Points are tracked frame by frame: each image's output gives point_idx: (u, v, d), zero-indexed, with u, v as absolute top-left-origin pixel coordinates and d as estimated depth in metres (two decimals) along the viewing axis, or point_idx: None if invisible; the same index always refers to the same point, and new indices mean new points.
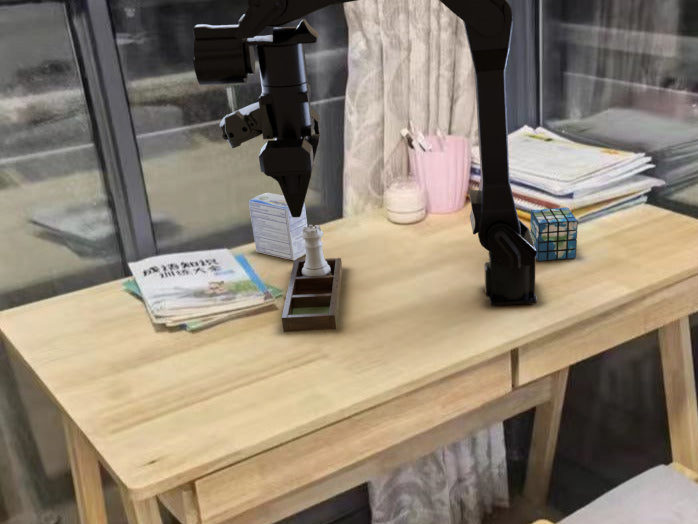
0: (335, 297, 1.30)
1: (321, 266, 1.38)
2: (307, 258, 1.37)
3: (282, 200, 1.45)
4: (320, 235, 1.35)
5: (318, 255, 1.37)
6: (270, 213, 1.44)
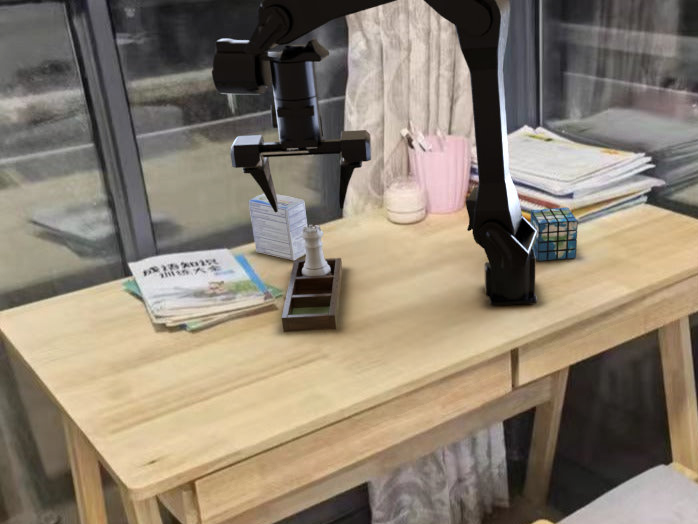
0: (335, 297, 1.30)
1: (321, 266, 1.38)
2: (307, 258, 1.37)
3: (282, 200, 1.45)
4: (320, 235, 1.35)
5: (318, 255, 1.37)
6: (270, 213, 1.44)
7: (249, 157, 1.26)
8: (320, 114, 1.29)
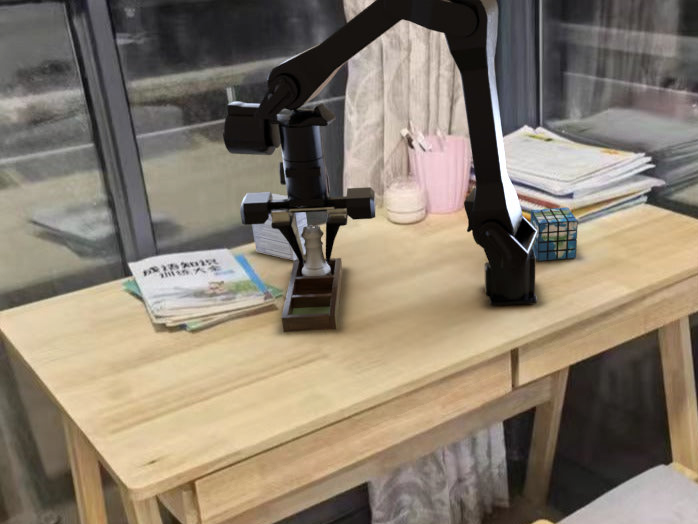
0: (335, 297, 1.30)
1: (321, 266, 1.38)
2: (307, 258, 1.37)
3: None
4: (320, 235, 1.35)
5: (318, 255, 1.37)
6: None
7: (258, 215, 1.31)
8: (326, 172, 1.34)
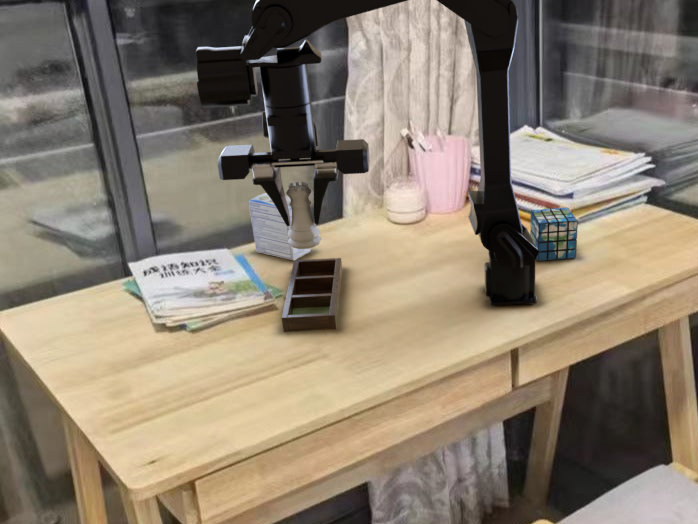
0: (335, 297, 1.30)
1: (309, 228, 1.24)
2: (293, 219, 1.24)
3: None
4: (307, 193, 1.22)
5: (305, 215, 1.23)
6: (270, 213, 1.44)
7: (238, 169, 1.17)
8: (314, 122, 1.20)
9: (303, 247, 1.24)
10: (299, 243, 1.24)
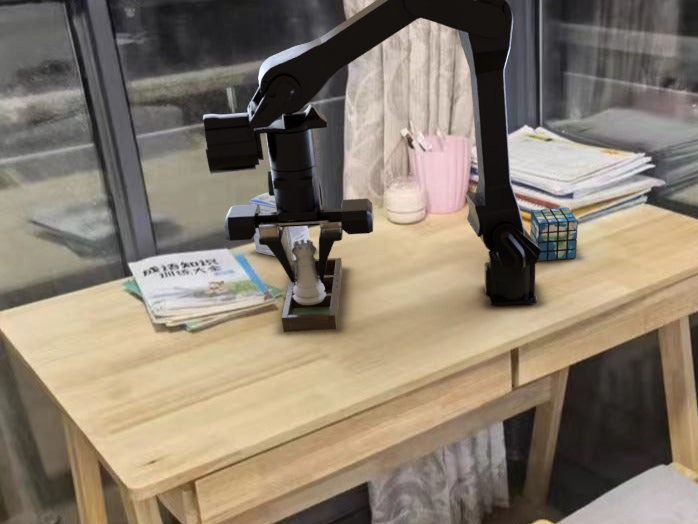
0: (335, 297, 1.30)
1: (314, 285, 1.26)
2: (298, 276, 1.25)
3: None
4: (313, 251, 1.24)
5: (310, 273, 1.25)
6: None
7: (244, 230, 1.19)
8: (319, 182, 1.22)
9: (308, 303, 1.26)
10: (304, 299, 1.26)
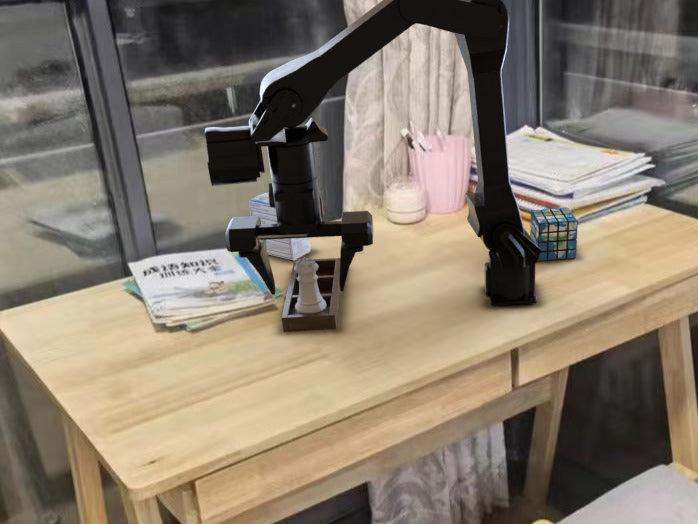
0: (335, 297, 1.30)
1: (316, 302, 1.27)
2: (300, 293, 1.27)
3: None
4: (315, 269, 1.25)
5: (312, 290, 1.26)
6: (270, 213, 1.44)
7: (245, 241, 1.20)
8: (320, 194, 1.23)
9: None
10: None
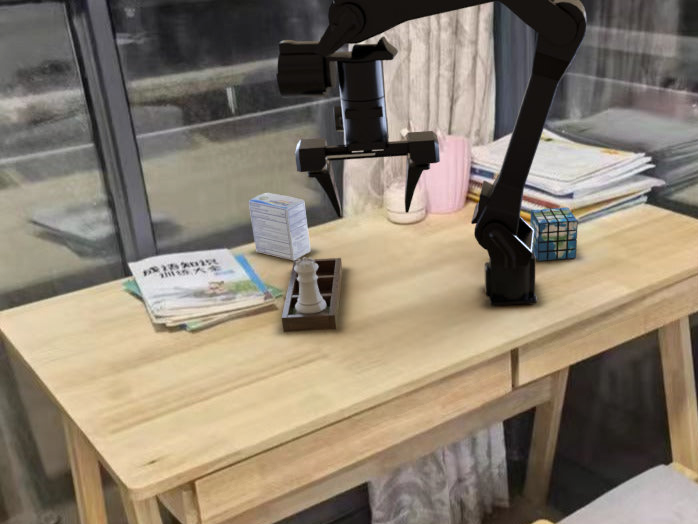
0: (335, 297, 1.30)
1: (316, 302, 1.27)
2: (300, 293, 1.27)
3: (282, 200, 1.45)
4: (315, 269, 1.25)
5: (312, 290, 1.26)
6: (270, 213, 1.44)
7: (315, 161, 1.22)
8: None
9: None
10: None
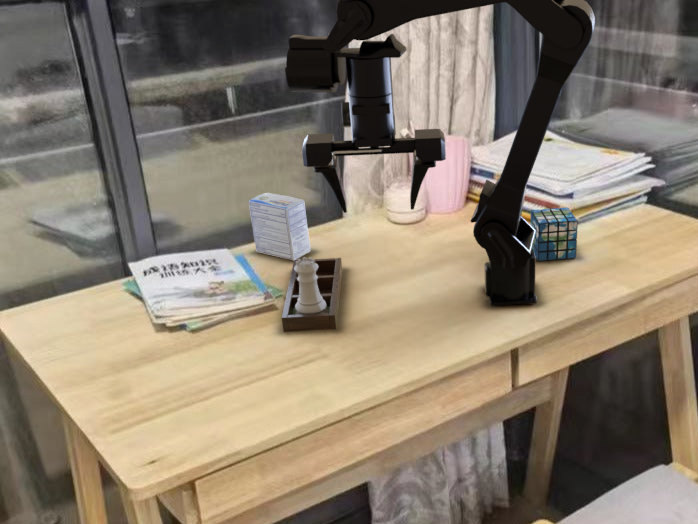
0: (335, 297, 1.30)
1: (316, 302, 1.27)
2: (300, 293, 1.27)
3: (282, 200, 1.45)
4: (315, 269, 1.25)
5: (312, 290, 1.26)
6: (270, 213, 1.44)
7: (321, 156, 1.23)
8: None
9: None
10: None
